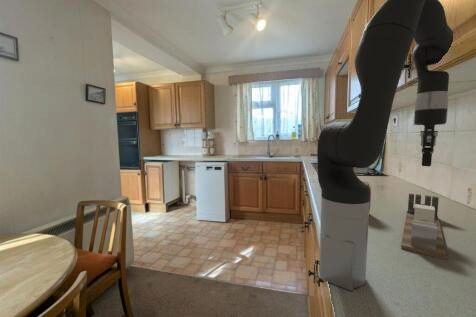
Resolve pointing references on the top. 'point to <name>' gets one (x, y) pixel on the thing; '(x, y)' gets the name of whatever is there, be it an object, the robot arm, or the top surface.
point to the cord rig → (423, 230)
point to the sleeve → (424, 213)
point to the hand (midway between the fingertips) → (426, 165)
